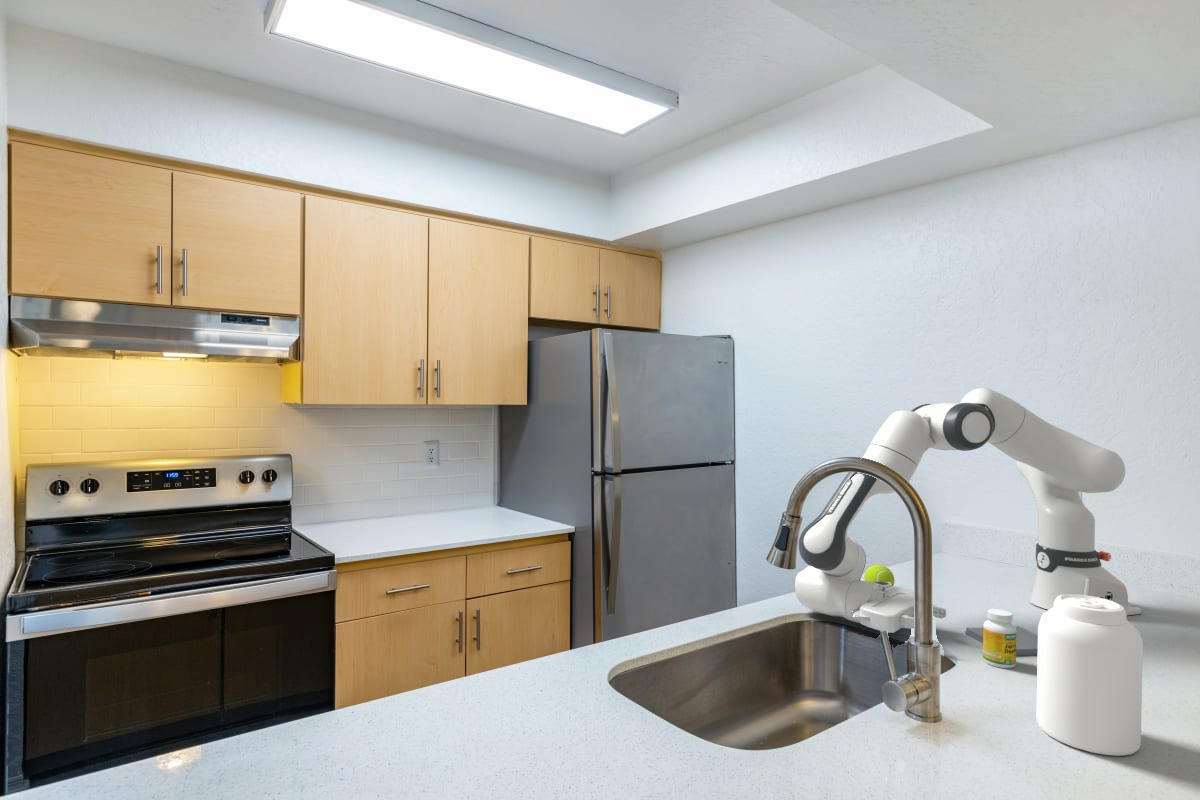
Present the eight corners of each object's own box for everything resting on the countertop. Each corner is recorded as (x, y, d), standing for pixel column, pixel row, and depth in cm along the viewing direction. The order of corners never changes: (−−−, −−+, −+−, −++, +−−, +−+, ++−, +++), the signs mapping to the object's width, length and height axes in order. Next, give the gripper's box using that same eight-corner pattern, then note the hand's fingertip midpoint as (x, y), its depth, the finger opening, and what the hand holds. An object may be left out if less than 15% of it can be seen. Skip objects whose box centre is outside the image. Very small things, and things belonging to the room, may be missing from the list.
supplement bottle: (991, 655, 129) (992, 605, 129) (1021, 665, 125) (1022, 613, 125) (977, 661, 126) (978, 610, 126) (1007, 671, 122) (1008, 618, 122)
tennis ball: (900, 596, 167) (900, 568, 167) (875, 597, 165) (875, 569, 165) (882, 588, 174) (882, 561, 174) (858, 589, 172) (858, 562, 172)
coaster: (1018, 631, 143) (1018, 626, 143) (1064, 653, 131) (1064, 647, 131) (966, 633, 141) (966, 627, 141) (1007, 656, 129) (1007, 649, 129)
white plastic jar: (1147, 768, 91) (1150, 620, 90) (1036, 741, 97) (1039, 604, 97) (1134, 729, 101) (1137, 597, 101) (1035, 708, 108) (1037, 583, 108)
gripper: (846, 599, 136) (917, 615, 126) (887, 579, 150) (954, 593, 141) (845, 630, 136) (916, 649, 126) (887, 607, 151) (953, 623, 141)
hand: (936, 619), depth 134 cm, fingers open, 8 cm apart
